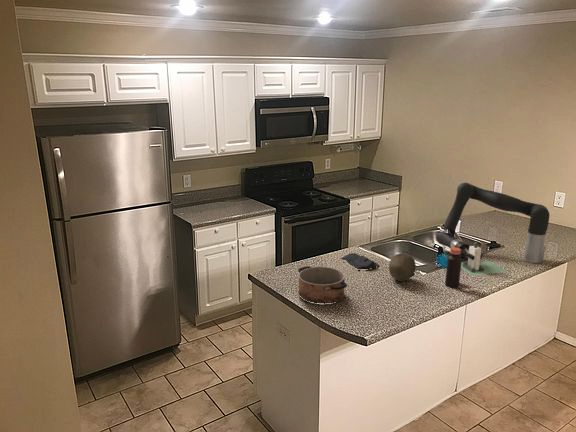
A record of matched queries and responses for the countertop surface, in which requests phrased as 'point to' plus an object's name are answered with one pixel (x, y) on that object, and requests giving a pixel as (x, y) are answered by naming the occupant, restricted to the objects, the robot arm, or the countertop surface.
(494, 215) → the countertop surface
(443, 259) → the gear
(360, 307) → the countertop surface
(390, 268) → the cantaloupe
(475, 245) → the plug
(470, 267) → the header
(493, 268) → the board
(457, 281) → the bottle
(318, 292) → the cooking pot
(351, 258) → the dark blue flat piece
